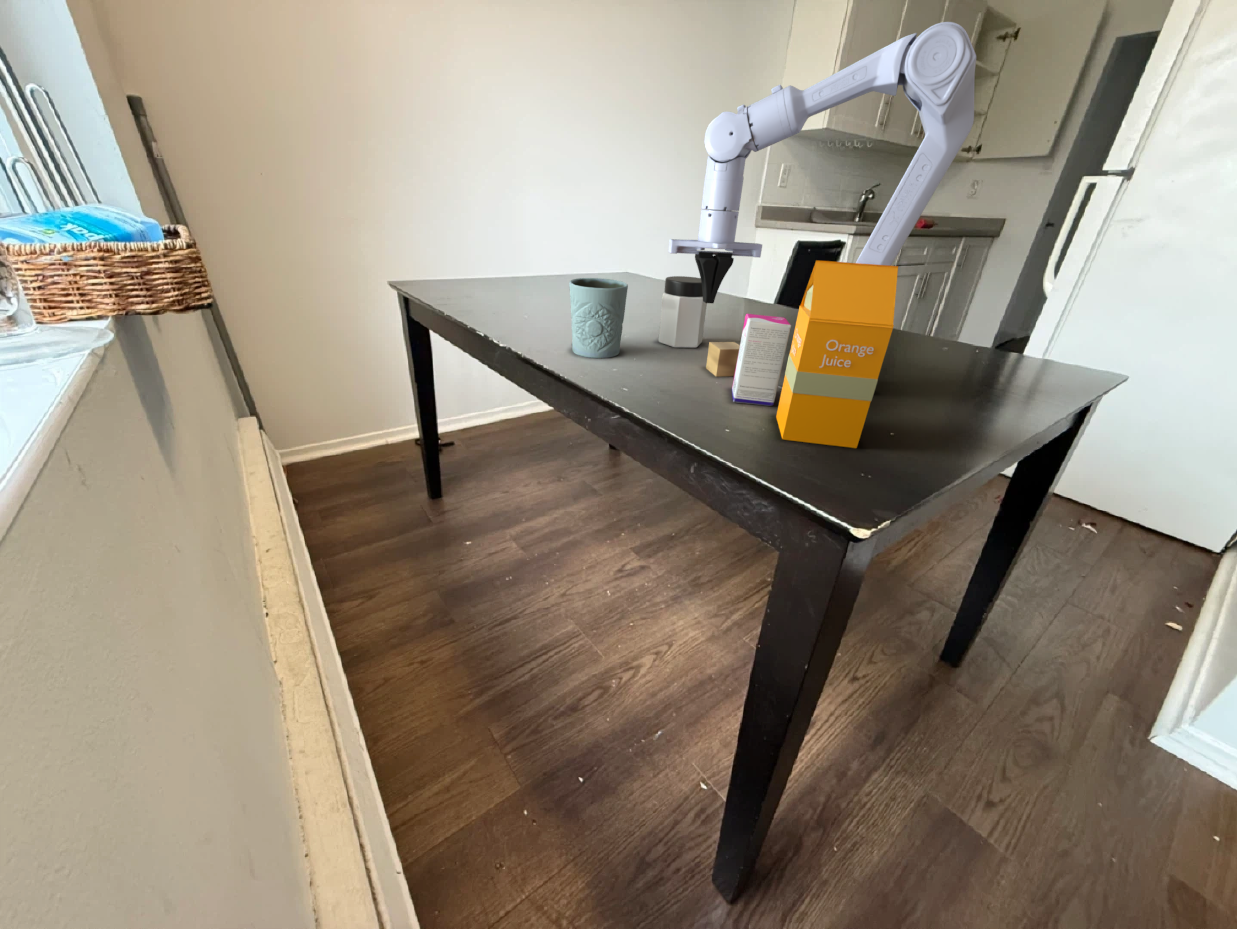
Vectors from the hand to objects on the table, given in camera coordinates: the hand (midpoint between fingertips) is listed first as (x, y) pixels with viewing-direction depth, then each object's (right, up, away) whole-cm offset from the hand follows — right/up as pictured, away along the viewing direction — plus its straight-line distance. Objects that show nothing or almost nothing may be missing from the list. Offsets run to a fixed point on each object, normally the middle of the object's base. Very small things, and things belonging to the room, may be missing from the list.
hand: (708, 302), depth 84 cm
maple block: (+3, -11, +1) cm, 12 cm away
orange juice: (+10, -23, -19) cm, 32 cm away
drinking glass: (-19, -7, +8) cm, 22 cm away
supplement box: (+5, -17, -9) cm, 20 cm away
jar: (-3, -3, +17) cm, 18 cm away
